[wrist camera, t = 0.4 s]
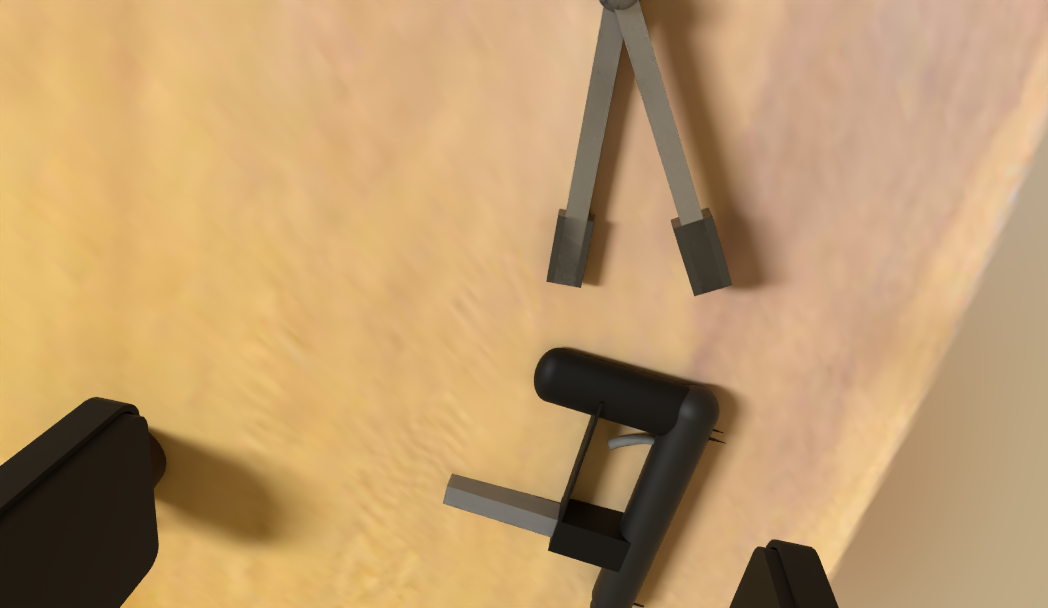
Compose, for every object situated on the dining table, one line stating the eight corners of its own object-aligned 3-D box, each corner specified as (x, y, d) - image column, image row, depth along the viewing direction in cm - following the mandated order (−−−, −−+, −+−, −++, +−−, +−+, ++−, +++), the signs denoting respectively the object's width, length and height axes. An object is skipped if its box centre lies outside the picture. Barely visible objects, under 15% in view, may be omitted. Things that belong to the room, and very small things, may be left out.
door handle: (425, 570, 48) (640, 639, 47) (481, 336, 39) (747, 416, 38) (438, 537, 51) (641, 600, 50) (493, 312, 42) (740, 386, 41)
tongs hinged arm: (554, -147, 28) (551, -156, 27) (598, -169, 28) (598, -180, 26) (691, 285, 36) (695, 301, 34) (727, 274, 36) (734, 289, 34)
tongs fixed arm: (623, -165, 29) (624, -172, 28) (672, -157, 29) (675, -164, 28) (546, 273, 39) (544, 283, 38) (583, 279, 39) (582, 290, 37)
